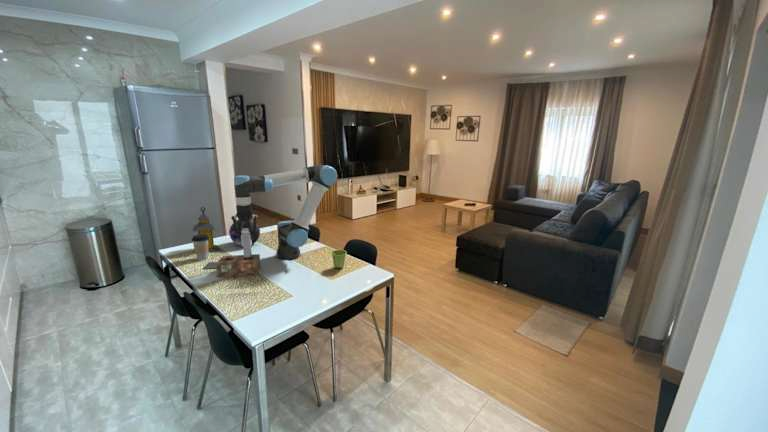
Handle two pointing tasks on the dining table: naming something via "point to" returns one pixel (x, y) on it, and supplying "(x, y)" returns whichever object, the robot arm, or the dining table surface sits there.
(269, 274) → the dining table surface
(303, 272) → the dining table surface
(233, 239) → the decorative sphere
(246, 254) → the plug
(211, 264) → the mat
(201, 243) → the coffee cup
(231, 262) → the socket block
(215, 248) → the lantern
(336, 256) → the plant pot
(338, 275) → the dining table surface
